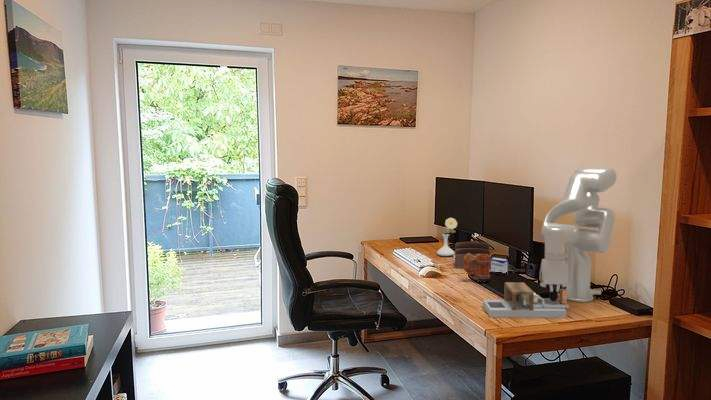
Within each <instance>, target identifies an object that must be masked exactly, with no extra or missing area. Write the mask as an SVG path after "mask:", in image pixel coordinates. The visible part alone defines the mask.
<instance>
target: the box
mask: <svg viewBox="0 0 711 400" xmlns="http://www.w3.org/2000/svg"><path fill="white" fill-rule="evenodd" d="M508 261H509V260H508V259H507V258H502V257H501V258H500V257H491V269H490V273H491V272H502V273H506V272H507V273H508V264H509V263H508Z"/></svg>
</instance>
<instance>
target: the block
mask: <svg viewBox="0 0 711 400" xmlns="http://www.w3.org/2000/svg"><path fill="white" fill-rule="evenodd" d="M521 296H522V297H523V298H524V299H525V300H526V304H529V299H530V295H521ZM533 304H537V294H536V292H534V301H533Z"/></svg>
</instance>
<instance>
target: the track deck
mask: <svg viewBox="0 0 711 400" xmlns="http://www.w3.org/2000/svg"><path fill="white" fill-rule="evenodd" d="M537 304H538V303H537ZM544 304H559V302H544ZM482 307H483V310H484V311H485V312H486V313H487V315H488V317H489V318H506V319H507V318H511V319H512V318H516V319H517V318H519V319H521V318H522V319H523V318H525V319H528V318H530V319H531V318H533V319H534V318H535V319H543V318H544V319H545V318H546V319H567V310H566V308H533V310H529V308H524V307H523V306H522V305H521V304H520V303H519V302H518V301H516V310H512V301H505V300H504V299H482Z"/></svg>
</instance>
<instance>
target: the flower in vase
mask: <svg viewBox="0 0 711 400" xmlns="http://www.w3.org/2000/svg"><path fill="white" fill-rule="evenodd" d="M444 225H445V227H446V229H447V228H448V229H449V230H448V231H446V230H444V229H442V232H444V233H442V234H441V235H442V238H443V246H441V247H440V248H439V249H438V250H437V251H436V254H437V255H438V256H441V257H451V256H455V250H453V249H452V248H450V246H449V245H448V240H449V236H450V234H449V232H450V233H451V234H454V233H456V232H457V231H456V230H455V228H457V226H458V222H457V220H456V218H454V217H449V218H447V219H445V222H444Z"/></svg>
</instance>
